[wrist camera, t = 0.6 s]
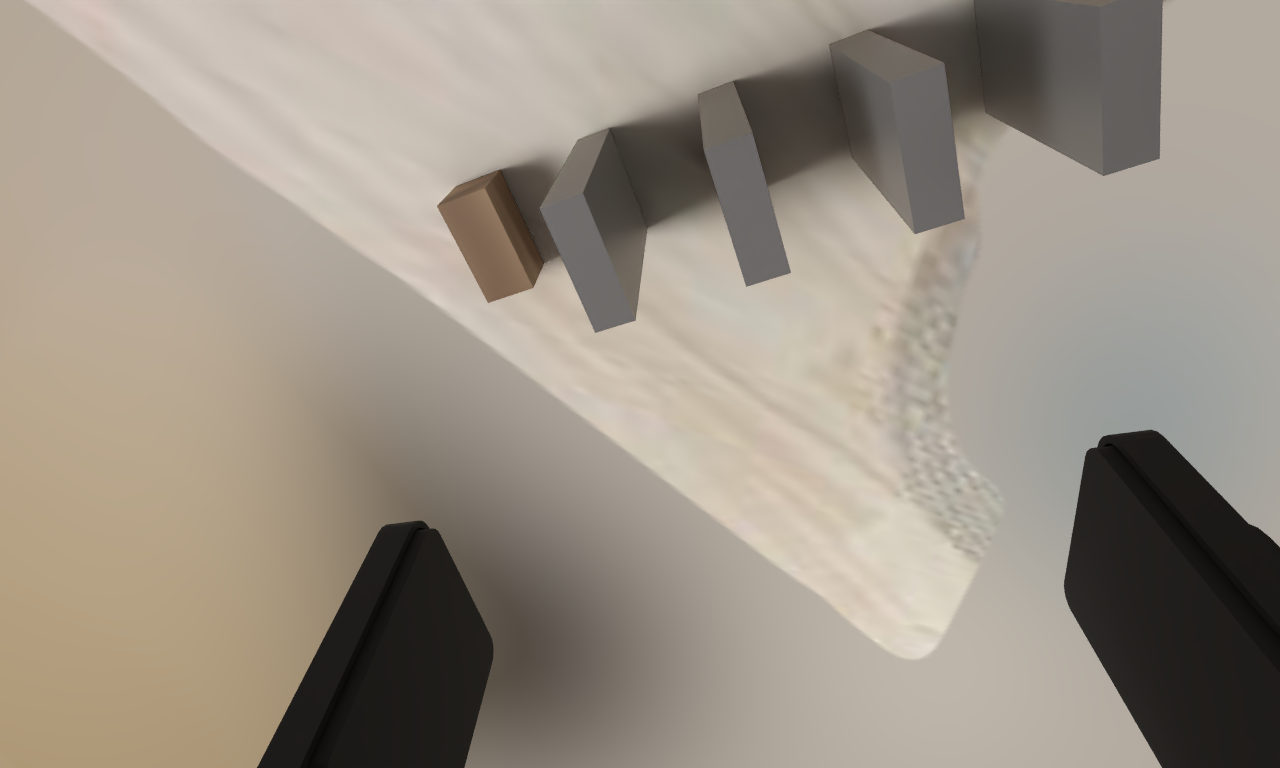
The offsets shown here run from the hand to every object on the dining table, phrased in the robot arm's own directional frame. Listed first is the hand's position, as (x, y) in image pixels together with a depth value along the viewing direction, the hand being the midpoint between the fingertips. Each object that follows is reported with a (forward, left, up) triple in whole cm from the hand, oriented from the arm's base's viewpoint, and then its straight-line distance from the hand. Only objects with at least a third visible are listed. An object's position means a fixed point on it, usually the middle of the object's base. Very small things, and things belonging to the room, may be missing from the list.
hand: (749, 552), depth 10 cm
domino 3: (-6, +4, -25) cm, 26 cm away
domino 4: (-11, +7, -25) cm, 28 cm away
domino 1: (+4, -2, -25) cm, 26 cm away
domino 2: (-1, +1, -25) cm, 25 cm away
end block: (+9, -5, -25) cm, 27 cm away
